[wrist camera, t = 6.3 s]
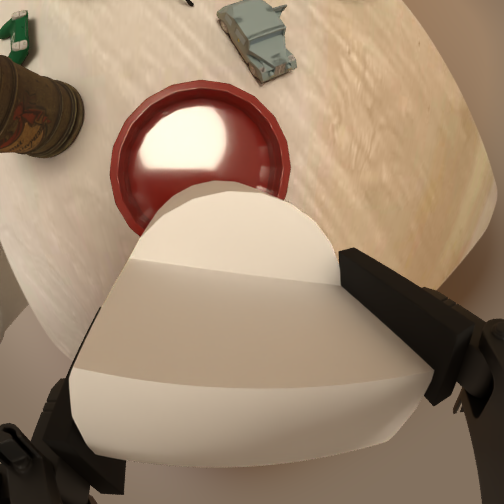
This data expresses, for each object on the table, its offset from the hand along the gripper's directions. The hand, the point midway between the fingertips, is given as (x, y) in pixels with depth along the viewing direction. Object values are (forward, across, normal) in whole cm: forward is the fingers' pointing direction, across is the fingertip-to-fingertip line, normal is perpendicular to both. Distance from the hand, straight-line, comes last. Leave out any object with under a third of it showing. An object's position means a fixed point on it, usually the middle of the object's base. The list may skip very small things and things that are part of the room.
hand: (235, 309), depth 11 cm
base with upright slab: (+6, 0, 0) cm, 6 cm away
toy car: (+21, +10, +19) cm, 30 cm away
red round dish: (+21, 0, +5) cm, 22 cm away
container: (+22, -16, +15) cm, 31 cm away
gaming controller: (+22, -20, +28) cm, 41 cm away
